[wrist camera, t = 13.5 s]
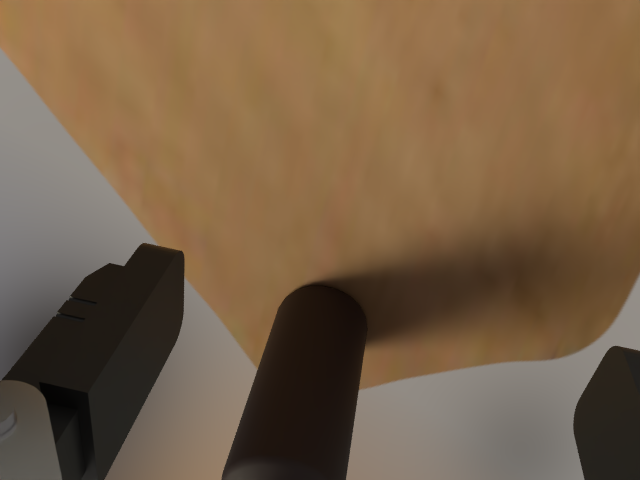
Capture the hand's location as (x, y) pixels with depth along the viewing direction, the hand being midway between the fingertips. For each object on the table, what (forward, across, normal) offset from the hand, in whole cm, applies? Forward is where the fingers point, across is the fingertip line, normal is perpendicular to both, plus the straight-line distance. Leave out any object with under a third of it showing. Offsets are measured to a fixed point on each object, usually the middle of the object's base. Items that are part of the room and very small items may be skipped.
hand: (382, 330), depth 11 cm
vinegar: (+26, +2, +22) cm, 34 cm away
